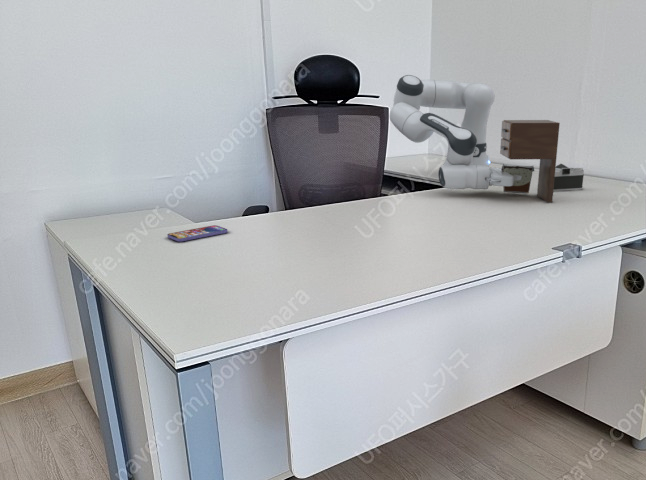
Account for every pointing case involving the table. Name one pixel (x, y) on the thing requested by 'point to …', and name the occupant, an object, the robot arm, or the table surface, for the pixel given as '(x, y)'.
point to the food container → (522, 184)
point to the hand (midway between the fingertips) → (520, 177)
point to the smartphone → (197, 233)
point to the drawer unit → (533, 148)
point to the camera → (568, 178)
